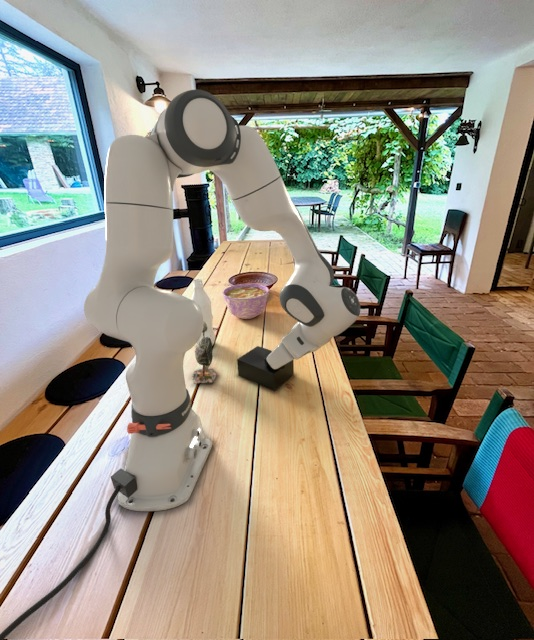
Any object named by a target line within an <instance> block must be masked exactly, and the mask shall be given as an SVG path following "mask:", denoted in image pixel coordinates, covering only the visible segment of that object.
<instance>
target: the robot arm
mask: <svg viewBox="0 0 534 640" xmlns="http://www.w3.org/2000/svg"><path fill="white" fill-rule="evenodd" d="M205 171H210V172H212V173H213V174H215V176H216V177H218V178H219V180H220V181H221V183H222V184H223V185H224V188H225V189H226V192H227V194H228V196H229V198H230V200H231V203H232V205H233V207H234V210H235V211H236V214H237V215H238V217H239V218H240V219H241V221H242V222H243V223H244V225H245V226H246V227H248V228H250V229H252V230H255V231H257V232H275V233H277V234H279V236H280V237H281V238H282V240H283V242H284V244H285V245H286V247H287V249H288V251H289V253H290V255H291V256H292V258H293V260H294V269H293V272H292V274H291V275H290V277H289V278H288V280H287V281H286V282H285V284H284V285H283V287H282V289H281V290H280V292H279V297H278V299H279V303H280V306H281V307H282V309H283V311H284V312H286V314H287V315H289V316H290V317H291V318H292V319H294V320H296V321H297V322H295V324H294V325H293V326H292V327H291V329H290V330H289V332H288V333H286V334H285V335H283V337H282V338H281V339H280V341H281V342H280V343H279V344H278V345H277V346H275V348H274V349H273V350H271V351H272V352H271V353H270V354H269V355H268V357H267V362H268V363H269V365H270V366H271V367H272V368H273V369H278V368H279V367H281V366H283V365H285V364H287V363H288V362H290V361H292V360H295V361H298V360H299V359H301V358H302V357H304V356H307V354H311V353H314V352H317V351H318V350H320V349H321V348H322V347H323V346H325V345H326V344H328V343H329V342H330V341H331V340H332V339H333V337H338V336H339V335H341V334H342V333H343V332H345V331H346V330H347V329H349V328H350V327H351V326H352V325H353V324H354V323H355V322H356V321H357V320H358V319H359V317H360V314H361V303H360V300H359V297H358V295H357V294H356V293H355V292H354V291H353V290H352V289H351V288H349V287H346V286H342V287H336V286H332V285H333V283H334V279H335V271H334V269H333V266H332V265H331V263H330V262H329V261H328V259H326V257H325V256H324V255H323V254H322V253H321V252H320V250H319V249H318V247H317V245H316V243H315V241H314V238H313V237H312V234H311V233H310V231H309V228H308V226H307V225H306V222H305V220H304V218H303V217H302V215H301V213H300V211H299V209H298V208H297V206H296V204H295V203H294V202H293V199H292V198H291V196H290V194H289V191H288V190H287V187H286V185H285V183H284V180H283V177H282V175H281V173H280V170H279V168H278V166H277V164H276V161H275V159H274V157H273V156H272V153H271V151H270V149H269V148H268V146H267V144H266V143H265V141H264V139H263V138H262V136H261V135H260V133H259V132H258V130H256V129H255V128H254V127H252V126H250V125H240V123H239V122H238V121H237V119H236V118H234V117H233V116H232V115H231V113H230V112H229V110H228V109H227V107H226V105H224V104H223V102H222V101H220V100H219V98H217V97H216V96H215V95H214V94H212V93H210V92H208V91H206V90H203V89H190V90H185V91H182V92H180V93H179V94H177V95H176V96H175V97H173V99H171V101H170V102H169V103H168V105H167V107H166V108H164V109H163V111H162V112H161V113H160V114H159V116H158V118H157V119H156V121H155V124H154V125H153V128H152V130H151V131H150V133H149V135H146V136H142V135H139V134H127V135H122V136H120V137H117V138H116V139H114V140H113V141H112V142H111V143H110V145H109V147H108V151H107V156H106V164H105V172H104V173H105V175H104V214H105V215H104V217H105V253H104V259H103V264H102V269H101V272H100V276H99V279H98V282H97V283H96V285H95V286H94V287H93V288H92V289H91V290H90V291H89V293H88V294H87V295H86V298H85V301H84V305H83V306H84V307H83V312H84V316H85V318H86V320H87V322H88V323H89V324H90V325H91V326H92V327H94V328H95V329H97V331H99V332H101V333H103V334H104V335H106V336H108V337H111V338H113V339H117V340H121V341H124V342H127V343H129V344H130V345H131V346H132V347H133V349H134V352H135V360H133V362H132V363H131V364H130V365H129V367H128V368H127V370H126V372H125V381H126V385H127V389H128V392H129V396H130V400H131V410H130V411H131V412H130V413H131V414H130V415H131V416H130V417H131V422H129V423H127V426H126V432H127V434H129V435H130V437H129V438H130V439H129V443H128V444H129V446H128V452H127V457H126V461H125V465H124V469H123V468H121V467H120V468H119V469H118V470H117V471H115V473H113V474H112V475H111V476H110V480H111V483H112V485H113V486H112V487H113V489H114V491H113V492H112V494H111V495H110V497H109V499H108V502H107V503H106V507H105V510H104V511H105V513H104V515H105V516H104V517H105V524H104V526H103V529H102V531H101V533H100V535H99V537H98V539H97V540H96V542H95V544H94V545H93V547H92V548H91V549H90V551H89V552H88V553H87V554H86V555H85V556H84V557H83V558H82V559H81V561H80V562H79V563H78V564H77V565H76V566H75V567H74V568H73V570H72V571H71V572H70V573H69V574H68V575H67V576H66V577H65V578H64V579H63V580H62V581H61V582H60V583H59V584H58V585H57V586H56V587H54V588H53V589H52V590H51V591H49V592H48V593H47V594H46V595H44V596H43V597H42V598H40V599H39V600H38V601H37V602H35V603H34V604H33V605H32V606H30V607H29V608H27V609H26V611H24V612H23V613H22V614H21V615H19V616H18V617H16V618H15V620H14V621H13V622H11V623H10V624H9V625H8V626H7V627H6V628H4V630H3V631H2V632H0V640H4V639H5V638H6V637H8V636H9V635H10V634H11V633H12V632H13V631H14V630H15V629H16V628H17V627H18V626H19V625H20V624H22V623H23V622H24V621H25V620H26V619H28V618H29V617H30V616H31V615H32V614H34V613H35V612H37V610H39V609H40V608H41V607H43V606H44V605H45V604H46V603H47V602H49V601H50V600H51V599H52V598H54V597H55V596H56V595H57V594H58V593H59V592H61V591H63V589H64V588H65V587H66V586H67V585H68V584H69V583H70V582H71V581H72V579H74V578H75V576H76V575H77V574H78V573H79V572H80V571H81V570H82V569H83V567H84V566H86V564H87V563H88V562H89V561H90V559H91V558H92V557H93V556H94V555H95V553H96V552H97V550H98V548H99V547H100V545H101V543H102V542H103V540H104V538H105V537H106V535H107V533H108V531H109V528H110V526H111V522H112V515H111V509H112V506H113V503H114V501H115V499H116V498H117V503H118V505H119V506H120V507H122V508H124V509H126V510H129V511H133V512H134V511H135V512H159V511H166V510H171V509H174V508H177V507H179V506H181V505H183V504H185V503H187V502H188V501H189V500H190V498H191V495H192V494H193V491H194V489H195V487H196V484H197V482H198V480H199V477H200V475H201V473H202V470H203V468H204V466H205V464H206V461H207V459H208V457H209V455H210V453H211V450H212V448H213V443H212V441H211V439H209V438H208V437H206V436H205V434H204V429H203V425H202V422H201V418H200V415H198V414H197V413H196V412H195V410H193V408H192V399H191V394H190V392H189V390H188V388H187V385H186V377H185V371H184V359H185V355H186V354H187V352H188V351H190V350H191V349H192V348H193V347H195V345H196V344H197V341H198V340H199V338H200V336H201V334H202V331H203V325H204V320H203V314H202V311H201V309H200V307H199V305H198V304H197V303H196V302H194V301H192V300H191V298H188V297H186V296H185V295H182V294H180V293H178V292H175V291H171V290H167V289H160V288H157V287H156V288H155V281H156V276H157V273H158V270H159V269H160V267H161V265H163V264H164V263H166V262H167V261H168V260H169V259H170V258H171V257H172V256H173V252H174V196H173V194H174V193H173V192H174V189H175V183H176V180H177V179H180V178H181V179H182V178H188V177H191V176H193V175H196V174H202V173H203V172H205Z"/></svg>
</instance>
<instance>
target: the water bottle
mask: <svg viewBox="0 0 534 640" xmlns="http://www.w3.org/2000/svg"><path fill="white" fill-rule="evenodd" d="M192 287H193V293H192V296H191V298H190V300H192V301H194V302H196V303H197V304H198V305H199V307H200V309H201V311H202V314H203V320H204V322H205V323H206V325H207V331H205V333H204V336H203V332H202V334H201V336H200V338H199V340H198V341H197V343H196V344H197V345H198V343H199V342H200V340H201V339H202V338H204V337H209V338H210V339H211V342H212V347H213V346H214V344H215V343H216V333H215V330H214V326H213V321H214V315H213V311H212V310H213V309H212V300H211V298H210V296H209V294H208V293H207V292H206V291H205V288H204V287H205V286H204V281H203V279H202V278H195V279H193V286H192Z"/></svg>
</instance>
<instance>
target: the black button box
mask: <svg viewBox="0 0 534 640" xmlns="http://www.w3.org/2000/svg"><path fill="white" fill-rule="evenodd" d="M272 351H273V350H270V349H268V348H264V347H262V346H259V345H256V346H255V347H254V348H252V349H250V350H249V351H247V352H246V353H244V354H243V355H241V356H240V357H238V358H237V359H236V364H237V375H238V377H241V378H243V379H245V380H248V381H250V382H252V383H254V384H256V385H258V386H261V387H263V388H265V389H267V390H270V391H273V392H276V391H277V390H278V389H279V388H280V387H282V386H283V385H284V384H285V383H286V382H287V381H289V380H290V379H291V378H292V377H293V376H294V375H295V374H294V373H295V372H294V370H295V368H294V365H295V364H294V360H295V359H294V360H292V361H290V362H288V363H287V364H285V365H283V366H281V367H279V368H278V369H273V368H272V367H271V366H270V365H269V363H268V362H267V357H268V355H269V354H270V353H271V352H272Z"/></svg>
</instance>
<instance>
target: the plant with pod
mask: <svg viewBox="0 0 534 640" xmlns="http://www.w3.org/2000/svg"><path fill="white" fill-rule="evenodd" d="M205 331H207V325H206V323H205V322H204V325H203V331H202V332H203V336H204V333H205ZM194 357H195V360H196V362H197V363H198V365H200V366H202V368H201V369H198V370H194V372H193V374H192V376H191V378H192V380H193V385H199V384H200V383H201V384H208V385H211V384H213V383H214V382H215V379H216V378H217V377H218V373H217V372H216V371H215V369H214V368H210V367H211V365H212V362H213V360H214V359H213V357H214V355H213V346H212V342H211V339H210V338H209V337H204V338H202V339H201V340H200V342H199V343H198V344H197V345H196V347H195V350H194Z"/></svg>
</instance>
